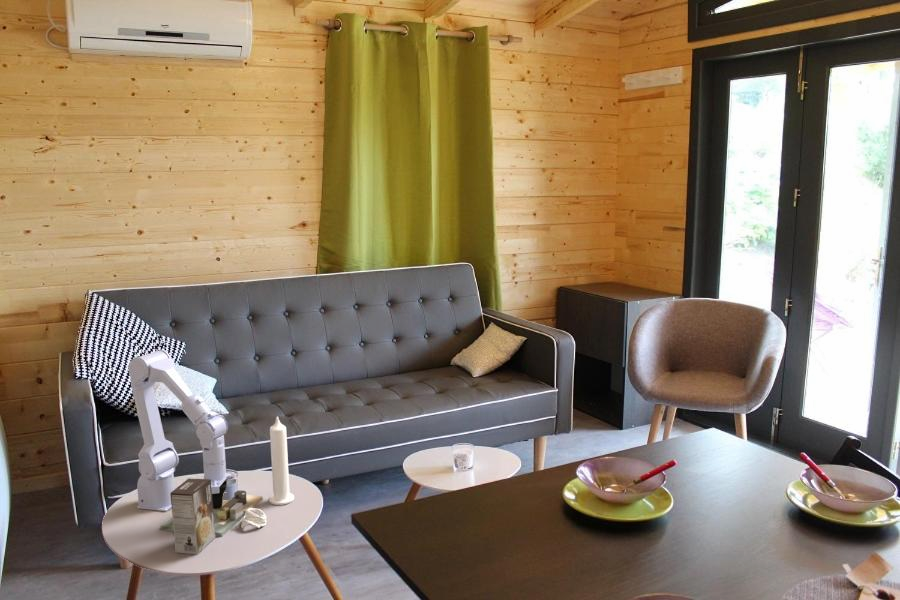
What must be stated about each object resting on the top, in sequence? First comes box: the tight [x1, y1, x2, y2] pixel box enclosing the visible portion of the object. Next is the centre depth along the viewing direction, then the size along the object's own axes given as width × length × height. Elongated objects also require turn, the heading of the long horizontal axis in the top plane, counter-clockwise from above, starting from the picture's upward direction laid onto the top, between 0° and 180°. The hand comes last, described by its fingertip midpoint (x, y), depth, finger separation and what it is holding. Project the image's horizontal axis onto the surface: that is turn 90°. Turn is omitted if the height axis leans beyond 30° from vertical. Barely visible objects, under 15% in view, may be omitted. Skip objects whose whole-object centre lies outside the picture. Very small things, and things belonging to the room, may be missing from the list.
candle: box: [268, 416, 295, 506], centre depth 215 cm, size 7×7×25 cm
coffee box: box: [170, 477, 216, 555], centre depth 191 cm, size 9×6×16 cm
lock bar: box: [218, 490, 247, 520], centre depth 208 cm, size 12×3×3 cm, turn 167°
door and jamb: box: [159, 494, 263, 537], centre depth 209 cm, size 18×22×4 cm
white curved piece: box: [240, 507, 267, 530], centre depth 203 cm, size 8×7×5 cm
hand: (217, 507), depth 207 cm, fingers closed
